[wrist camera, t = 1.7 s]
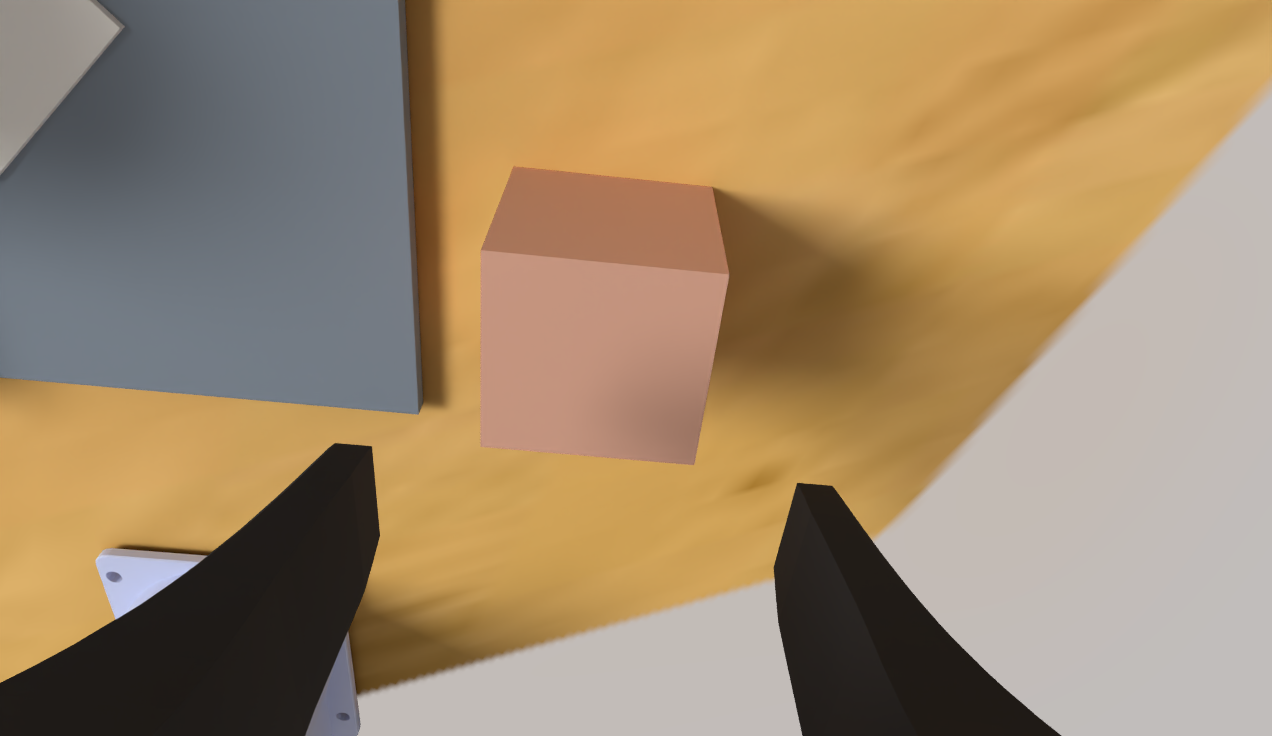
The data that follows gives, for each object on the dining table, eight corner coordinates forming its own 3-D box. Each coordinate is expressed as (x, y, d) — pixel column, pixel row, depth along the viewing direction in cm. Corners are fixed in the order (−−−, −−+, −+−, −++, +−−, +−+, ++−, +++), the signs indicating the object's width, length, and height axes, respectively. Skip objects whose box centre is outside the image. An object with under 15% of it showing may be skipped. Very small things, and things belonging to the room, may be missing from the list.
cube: (685, 352, 23) (694, 464, 19) (509, 336, 23) (480, 446, 19) (711, 185, 21) (729, 274, 17) (513, 165, 20) (481, 250, 16)
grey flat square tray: (423, 402, 24) (392, 480, 21) (-139, 352, 24) (-250, 426, 21) (392, -278, 16) (334, -303, 13) (-500, -393, 15) (-780, -449, 12)
